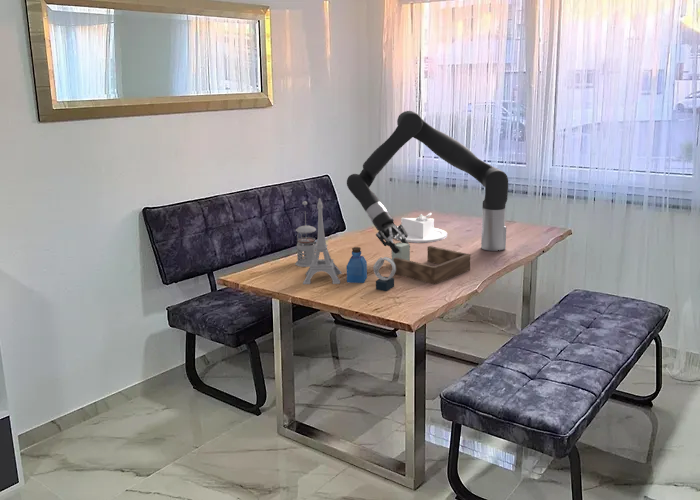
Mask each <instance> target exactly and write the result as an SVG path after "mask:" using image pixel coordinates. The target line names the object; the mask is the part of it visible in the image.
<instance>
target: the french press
mask: <svg viewBox="0 0 700 500" xmlns="http://www.w3.org/2000/svg"><path fill="white" fill-rule="evenodd" d="M301 205H303V206H306V205H308V201H306V200H305V201H302V204H301ZM306 216H307V215H306V212H304V221H305V222H304V224H305V225H301V226H298V227H297V228H296V229H295V232H297V235H299V234H300V238H299V237H298V238H297V240H296V242H297V243H296V257H297V258H296V259H297V261H296V262H295V264H294V265H295V266H298V267H301V268H306V267H307V268H310V266H311V262H312V260H314V258H315V254H316V245H317V241H316V238H315V237H310V236H309V237H308V236H307V235H305V237H304V236H303V235H304V234H311V233H312V234H313V233H314V232H316V231H317V228H316V227H314V226H312V225H307V217H306Z"/></svg>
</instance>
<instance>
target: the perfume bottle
mask: <svg viewBox="0 0 700 500" xmlns="http://www.w3.org/2000/svg"><path fill="white" fill-rule="evenodd" d="M351 249H352V251H351V257H350V258H349V260H348V263H347V265H346V282H347V283H351V284H353V283H356V284H364V283H366V280H367V278H368V265H367V263H368V262H367V260H366V258H365V256H364V255H362V250H361V249H362V248H361V247H359V246H354V247H352V248H351Z"/></svg>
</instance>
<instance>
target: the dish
mask: <svg viewBox="0 0 700 500" xmlns="http://www.w3.org/2000/svg"><path fill="white" fill-rule="evenodd" d="M431 216H432V212H428V214H426V215H423V214H422V213H420V215H419V216H418V215H417V216H416V217H401V221H400V222H401V225H402V226H403V228H404V229H405V231H406V233H407V235H408V237H407V238H406V240H407V242H408V243H413V244H414V243H416V244H417V243H418V244H419V243H422V244H423V243H436V242H439V241H442V240H444V239H446V238H447V237H448V232H447V231H446V230H444V229H441V228H438V227H435V218H431ZM429 217H430V218H429ZM398 235H399V234H398ZM398 235H397V236H398ZM403 235H404V234H403ZM404 236H405V235H404ZM400 238H401V239H402V237H400ZM394 239H395V238H393V240H394ZM395 240H397V241H399V240H398V239H395Z"/></svg>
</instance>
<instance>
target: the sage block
mask: <svg viewBox="0 0 700 500" xmlns="http://www.w3.org/2000/svg"><path fill="white" fill-rule="evenodd" d="M395 245H396V246H397V248H398V249H399V252H398V253H396V254H395V253H394V252H393V251H392V250H391V259H392V260H393V261H394V258H401V259H405V260H409V261H411V245H410V243H409V244H406V243H402V242H400V241H399V242H396V243H395Z"/></svg>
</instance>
